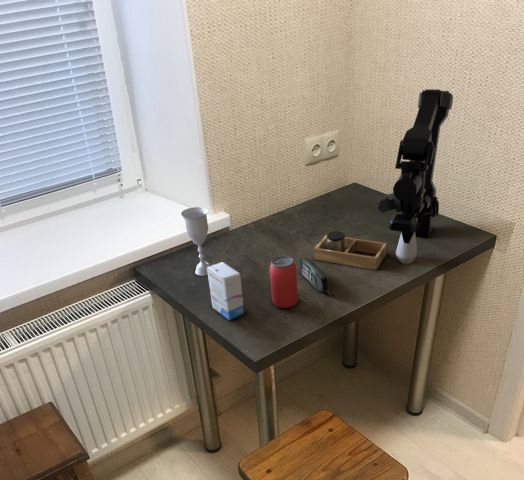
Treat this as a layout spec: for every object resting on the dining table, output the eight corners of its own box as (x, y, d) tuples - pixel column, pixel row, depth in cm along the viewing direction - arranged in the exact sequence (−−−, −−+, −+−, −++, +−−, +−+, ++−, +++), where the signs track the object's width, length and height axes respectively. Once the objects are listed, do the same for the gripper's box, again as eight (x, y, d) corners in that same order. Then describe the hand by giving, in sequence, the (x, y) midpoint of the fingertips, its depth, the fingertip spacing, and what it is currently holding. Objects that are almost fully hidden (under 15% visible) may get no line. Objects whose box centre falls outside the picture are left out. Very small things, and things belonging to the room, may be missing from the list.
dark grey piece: (297, 258, 154) (323, 281, 142) (307, 255, 155) (333, 277, 143) (298, 274, 157) (324, 297, 145) (308, 271, 158) (334, 294, 146)
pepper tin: (330, 249, 166) (330, 230, 162) (347, 252, 164) (347, 232, 160) (324, 257, 163) (324, 237, 159) (341, 260, 161) (341, 240, 157)
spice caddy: (326, 245, 169) (326, 234, 166) (386, 254, 161) (387, 243, 159) (314, 259, 162) (313, 248, 160) (376, 270, 155) (376, 258, 152)
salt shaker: (416, 265, 155) (420, 222, 147) (394, 264, 156) (397, 221, 148) (416, 255, 159) (420, 212, 151) (396, 254, 161) (398, 211, 153)
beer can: (271, 296, 148) (267, 256, 141) (296, 294, 148) (294, 253, 141) (273, 310, 143) (270, 269, 135) (299, 307, 143) (297, 265, 136)
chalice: (220, 266, 163) (211, 208, 152) (211, 278, 158) (201, 218, 147) (197, 264, 166) (187, 206, 155) (187, 275, 161) (176, 216, 150)
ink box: (245, 313, 143) (241, 272, 136) (229, 321, 141) (223, 280, 133) (227, 300, 149) (222, 260, 141) (211, 307, 146) (205, 267, 139)
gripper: (392, 170, 154) (389, 223, 164) (370, 196, 141) (368, 252, 151) (433, 174, 150) (427, 228, 159) (415, 201, 137) (410, 258, 146)
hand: (408, 241), depth 154 cm, fingers closed on salt shaker, 3 cm apart
